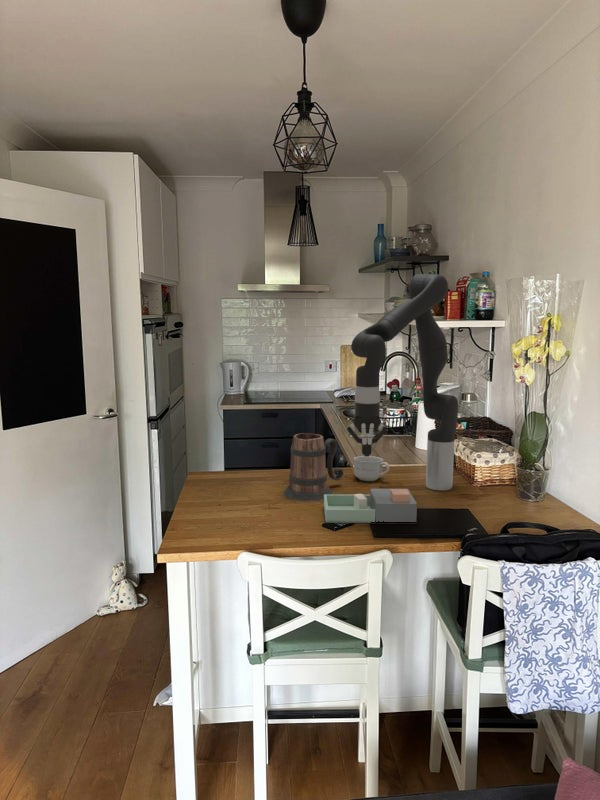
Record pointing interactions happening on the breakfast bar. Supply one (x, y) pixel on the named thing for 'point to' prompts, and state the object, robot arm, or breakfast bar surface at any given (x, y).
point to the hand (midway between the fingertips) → (366, 455)
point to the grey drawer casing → (391, 507)
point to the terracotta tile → (399, 495)
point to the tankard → (311, 467)
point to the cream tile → (360, 501)
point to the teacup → (369, 467)
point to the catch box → (346, 510)
